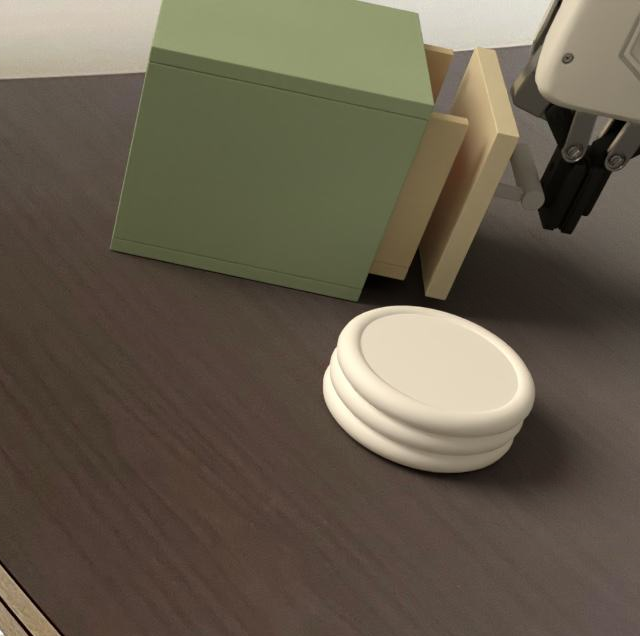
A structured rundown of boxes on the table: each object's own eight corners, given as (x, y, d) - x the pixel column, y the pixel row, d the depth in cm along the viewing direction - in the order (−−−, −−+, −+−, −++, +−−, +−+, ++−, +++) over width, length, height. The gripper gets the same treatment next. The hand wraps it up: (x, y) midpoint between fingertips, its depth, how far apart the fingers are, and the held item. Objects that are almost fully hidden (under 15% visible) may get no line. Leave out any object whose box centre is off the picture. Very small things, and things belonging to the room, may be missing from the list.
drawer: (486, 216, 74) (556, 62, 67) (506, 313, 67) (589, 151, 59) (224, 161, 74) (267, 2, 67) (215, 252, 67) (262, 82, 60)
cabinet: (351, 197, 76) (418, 12, 67) (357, 302, 67) (435, 105, 58) (132, 151, 76) (171, -40, 67) (109, 250, 67) (151, 45, 59)
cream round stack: (450, 351, 65) (476, 297, 62) (545, 471, 59) (578, 416, 56) (289, 359, 62) (309, 303, 59) (370, 485, 56) (397, 429, 53)
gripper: (590, -144, 52) (432, 226, 66) (917, -76, 52) (692, 280, 65) (564, -186, 57) (423, 165, 71) (862, -124, 57) (664, 215, 71)
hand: (553, 219), depth 68 cm, fingers closed
